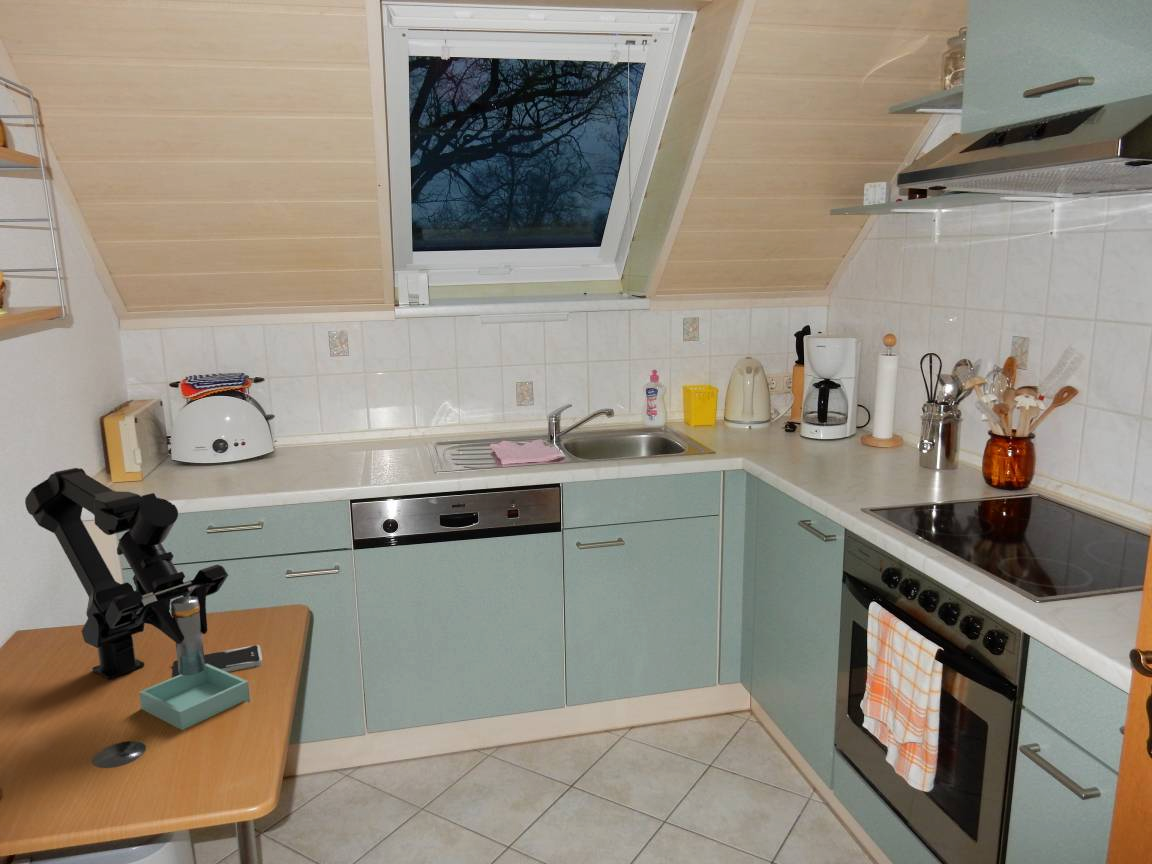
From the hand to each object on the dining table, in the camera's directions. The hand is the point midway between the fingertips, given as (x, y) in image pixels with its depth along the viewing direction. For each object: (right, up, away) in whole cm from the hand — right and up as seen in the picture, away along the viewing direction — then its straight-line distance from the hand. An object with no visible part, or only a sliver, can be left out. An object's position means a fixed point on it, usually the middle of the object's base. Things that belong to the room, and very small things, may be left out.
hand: (193, 637), depth 139 cm
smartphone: (-3, -10, +18) cm, 21 cm away
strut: (-1, -6, +2) cm, 6 cm away
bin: (-1, -12, +3) cm, 13 cm away
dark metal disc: (-6, -15, -11) cm, 20 cm away
